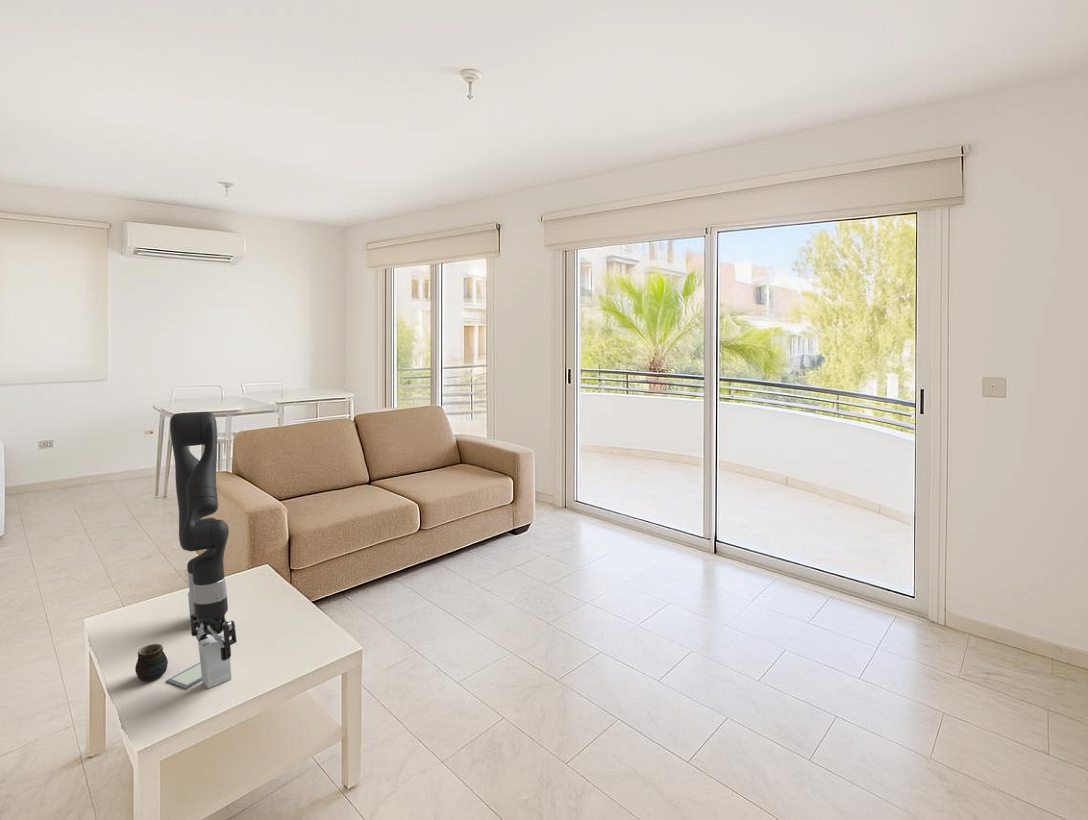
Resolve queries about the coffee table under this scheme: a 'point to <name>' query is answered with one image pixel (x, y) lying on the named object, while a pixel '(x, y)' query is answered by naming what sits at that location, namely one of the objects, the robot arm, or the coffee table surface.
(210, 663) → the skincare box
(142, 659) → the mate gourd
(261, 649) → the coffee table surface
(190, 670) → the slate gray picture frame
